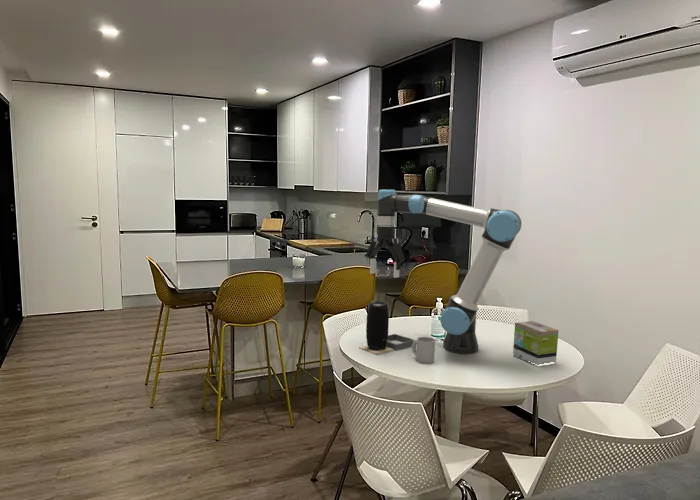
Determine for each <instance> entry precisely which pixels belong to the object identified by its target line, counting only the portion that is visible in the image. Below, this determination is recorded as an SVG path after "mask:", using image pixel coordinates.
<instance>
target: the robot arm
mask: <svg viewBox="0 0 700 500" xmlns="http://www.w3.org/2000/svg"><path fill="white" fill-rule="evenodd" d="M396 192H397V191H396V189H379V191H378V193H377V201H376V202H377V213H376V214H377V215H376V216H377V217H376V225H377V227H376V235H375V236H373V235H372V237H371V241H370V244H369V246H368V248H367V251H366V253H365V257H366V258H367V257H368V259H369V260H368V261H369V262H368V264H369V274H376V266H377V259H376V256H377V255H378V254H379V251H380V250H381V249H382V248H384V249H388V251H389V252H390V254H391V256H392V257H393V259H394V260H395V261H393V278H395V279H396V278H400V270H401V268H402V266H401V265H402V262H405V260H406V257H405V254H404V252H403V250H402V247H401V243H400V240H401V239H400V238H399V237H397V238H394V235H395V229H396V228H395V221H396V220H395V219H396V218H395V217H396V213H403V214H421V215H422V214H424V215H428V216H432V217H436V218H441V219H445V220H448V221H452V222H457V223H462V224H465V225H466V224H467V225H471V226H475V227H479V228H483V229H484V231H483V233H482V235H481V239H482V243H481V245H480V248H479V249H478V252H477V254H476V255H475V257H474V259H473V261H472V264H471V266H470V268H469V269H468V272H467V274H466V275H465V278H464V280H463V281H462V283H461V286H460V288H459V290H458V292H457V293H456V294H454V295H451V296H450V297H449V301H448V303H447V305H446V307H445V309H443V311H442V312H441V315H440V324H441V327H442V329H443V330H444V331H445V332H446V334H445V337H444V340H443V343H442V348H443V349H444V350H446V351H448V352H451V353H455V354H465V355H466V354H475V353H478V351H479V343H478V338H477V335H476V334H477V333H476V326H477V312H478V310H479V307H478V302H479V300H480V298H481V296H482V295H483V292H484V290H485V288H486V286H487V284H488V282H489V280H490V278H491V276H492V274H493V273H494V270H495V268H496V267H497V265H498V263H499V261H500V259H501V257H502V255H503V253H504V252H505V251H509V250H510V249H511V247H512V244H513V243H514V240H515V239H516V237H517V235H518V234H519V233H520V231H521V228H522V219H521V217H520V215H519V214H518V213H517V212H515V211H513V210H509V209H497V208H492V207H491V208H489V209H485V208H481V207H475V206H470V205H467V204H461V203H457V202H454V201H453V202H452V201H447V200H443V199H437V198H434V197H428V196H424V195H423V194H397V193H396Z"/></svg>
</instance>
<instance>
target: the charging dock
mask: <svg viewBox="0 0 700 500" xmlns="http://www.w3.org/2000/svg"><path fill="white" fill-rule="evenodd" d="M414 340H415V339H414V338H410V337H406V336H403V335H401V334H400V335H399V334H397V333H392V334H388V338H387V343H386V347H389V348H391V349H394V351H399V350H403V349H408V348H412V343H413V341H414ZM392 341H398V342H400V343H394V342H392Z"/></svg>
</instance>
